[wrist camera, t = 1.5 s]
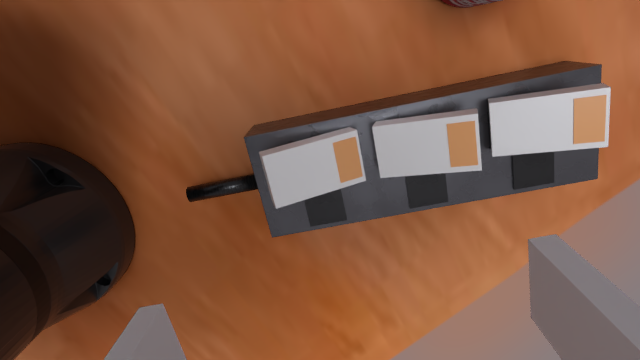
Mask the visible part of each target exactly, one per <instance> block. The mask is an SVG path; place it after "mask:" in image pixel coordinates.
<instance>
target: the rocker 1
mask: <svg viewBox="0 0 640 360" xmlns="http://www.w3.org/2000/svg"><path fill="white" fill-rule="evenodd" d="M259 155H260V158H261V162H262V166H263V169H264V173H265V177H266V180H267V184H268V188H269V191H270V195H271V199H272V202H273V204H274V206H275V208H276V209H277V208H280V207H283V206H287V205H290V204H293V203H296V202H299V201H303V200H306V199H309V198H312V197H315V196H319V195H322V194H325V193H328V192H331V191H335V190H338V189H341V188H344V187H347V186H351V185H354V184H357V183H360V182H364V181H366V177H365V172H364V166H363V160H362V155H361V149H360V144H359V138H358V133H357V130H356V129H354V128H351V127H347V128H343V129H339V130H336V131H332V132H329V133H325V134H321V135H318V136H314V137H311V138H307V139H303V140H300V141H296V142H293V143H289V144H285V145H282V146H278V147H275V148H271V149H267V150H264V151H260V152H259Z"/></svg>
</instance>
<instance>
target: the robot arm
mask: <svg viewBox="0 0 640 360" xmlns="http://www.w3.org/2000/svg"><path fill="white" fill-rule="evenodd" d="M134 245H135V234H134V227H133V222H132V219H131V215H130V213H129V210H128V208H127V206H126V204H125V202H124V200H123V198H122V197H121V195H120V194H119V192H118V191H117V190H116V188H115V187H114V186H113V185H112V183H111V182H110V181H109V180H108V179H107V178H106V177H105V176H104V175H103V174H102V173H101V172H100V171H98V170H97V169H96V168H95V167H93V166H92V165H91V164H89V163H88V162H86V161H85V160H83V159H81V158H79V157H78V156H76V155H74V154H72V153H70V152H67V151H65V150H62V149H59V148H56V147H53V146H49V145H44V144H38V143H13V144H7V145H3V146H0V360H14V359H15V358H16V357H17V356H18V355H19V354H20V353H21V352H22V351H23V350H24V349H25V348H26V346H27V345H28V344H29V343H30V342H31V341H32V340H33V339H34V338H35V337H36V336H37V335H38V334H39V333H40V332H41V331H42V330H44V329H46V328H48V327H50V326H52V325H53V324H55V323H57V322H59V321H61V320H63V319H65V318H67V317H69V316H70V315H72V314H74V313H76V312H78V311H80V310H82V309H84V308H85V307H87V306H89V305H91V304H93V303H95V302H96V301H97V300H99V299H100V298H101V297H103V296H104V295H105V294H106V293H107V292H108V291H109V290H110V289H111V288H112V287H113V286H114V285H115V284H116V282H117V281H118V280H119V279H120V278H121V277H122V275H123V274H124V273H125V271H126V270H127V268H128V266H129V264H130V262H131V259H132V256H133V252H134ZM528 250H529V278H530V305H531V318H532V320H533V321H534V322H535V324H536V325H537V326H538V328H539V329H540V330H541V332H542V333H543V335H544V336H545V337H546V339H547V340H548V341H549V343H550V344H551V345H552V347H553V348H554V349H555V351H556V352H557V354H558V355H559V356H560V358H561V359H562V360H640V306H639V305H638V304H637V303H636V302H635V301H633V300H632V299H631V298H630V297H629V296H627V295H626V294H625V293H624V292H623V291H622V290H621V289H619V288H618V287H617V286H616V285H615V284H613V283H612V282H611V281H610V280H609V279H608V278H606V277H605V276H604V275H603V274H602V273H601V272H599V271H598V270H597V269H596V268H595V267H593V266H592V265H591V264H590V263H589V262H588V261H587V260H585V259H584V258H583V257H582V256H581V255H580V254H578V253H577V252H576V251H575V250H574V249H573V248H571V247H570V246H569V245H568V244H567V243H565V242H564V241H563V240H562V239H561V238H560V237H559V236H557V235H556V234H555V235H549V236H543V237H538V238H532V239H528ZM104 360H187V359H186V357H185V355H184V352H183V350H182V348H181V345H180V343H179V340H178V338H177V336H176V333H175V331H174V329H173V326H172V324H171V322H170V319H169V317H168V314H167V312H166V310H165V307H164V305H163V304H157V305H152V306H146V307H140V308H139V309H138V310H137V312H136V313H135V315H134V316H133V318H132V319H131V321H130V322H129V324H128V325H127V326H126V328H125V329H124V331H123V332H122V334H121V335H120V337H119V338H118V340H117V341H116V343H115V344H114V345H113V347H112V348H111V350H110V351H109V353H108V354H107V356H106V357H105V359H104Z"/></svg>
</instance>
